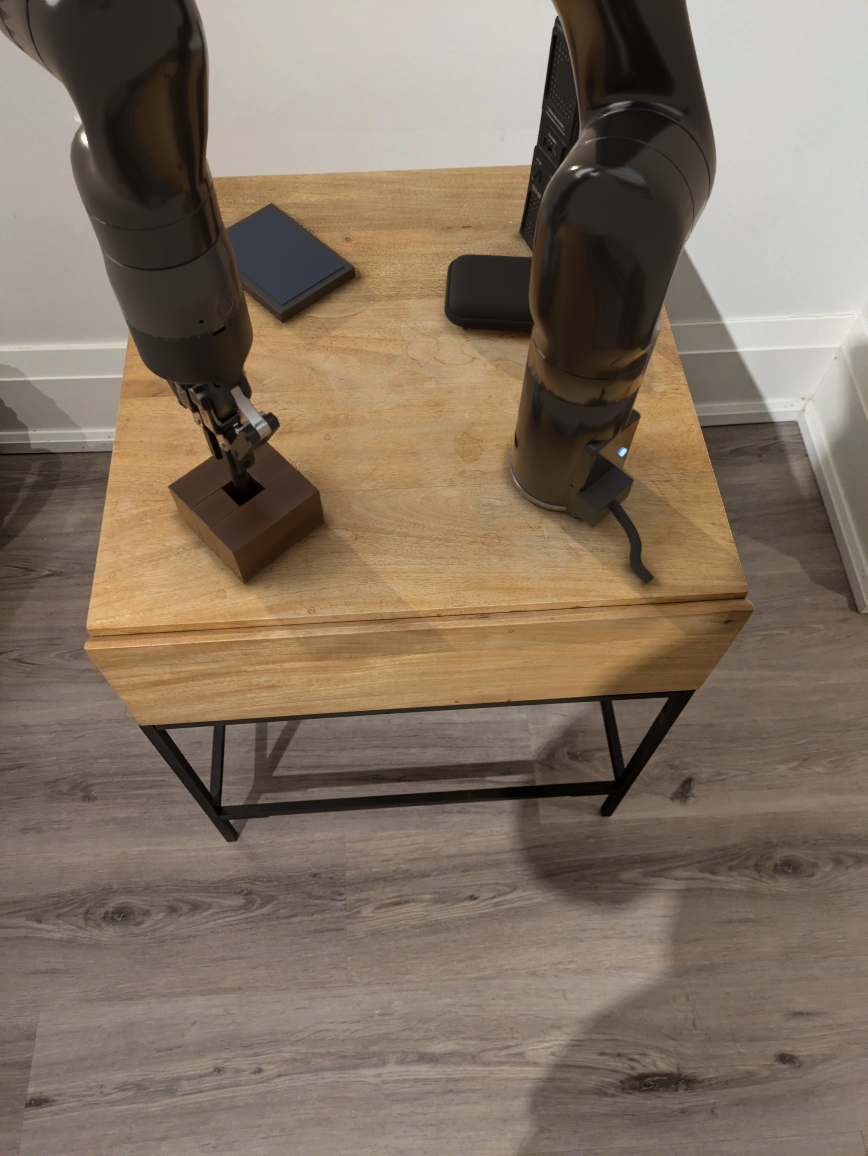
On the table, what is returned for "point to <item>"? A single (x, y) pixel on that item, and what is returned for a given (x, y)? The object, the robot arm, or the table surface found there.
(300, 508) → the pen stand
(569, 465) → the robot arm
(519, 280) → the carrying case
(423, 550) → the table surface
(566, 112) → the portable radio
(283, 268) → the tablet
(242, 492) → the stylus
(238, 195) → the table surface
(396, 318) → the table surface
